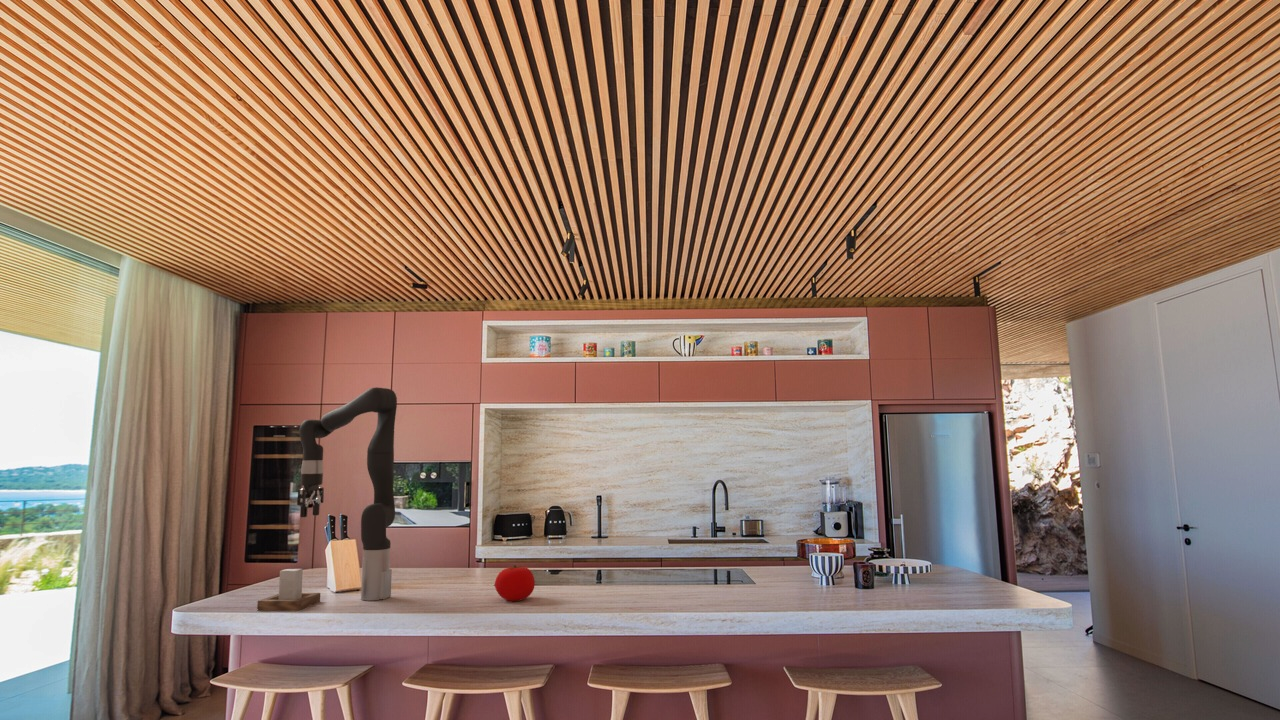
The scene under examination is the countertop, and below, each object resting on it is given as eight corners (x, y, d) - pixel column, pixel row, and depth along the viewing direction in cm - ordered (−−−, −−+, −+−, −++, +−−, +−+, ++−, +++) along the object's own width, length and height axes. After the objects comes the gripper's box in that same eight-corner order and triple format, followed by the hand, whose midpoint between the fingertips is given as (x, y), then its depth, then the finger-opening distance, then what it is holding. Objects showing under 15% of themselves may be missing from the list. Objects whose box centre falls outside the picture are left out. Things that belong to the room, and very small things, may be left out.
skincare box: (301, 604, 241) (303, 568, 242) (294, 607, 237) (296, 570, 238) (284, 604, 241) (286, 568, 243) (277, 607, 237) (279, 570, 239)
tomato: (529, 603, 238) (529, 568, 240) (490, 603, 240) (490, 568, 241) (539, 596, 251) (539, 562, 252) (501, 595, 253) (502, 562, 254)
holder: (320, 601, 245) (320, 592, 246) (297, 610, 231) (298, 601, 232) (281, 601, 246) (282, 592, 247) (257, 610, 232) (257, 600, 233)
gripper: (311, 473, 259) (309, 517, 256) (331, 472, 273) (329, 514, 271) (292, 473, 259) (289, 518, 257) (312, 472, 273) (310, 514, 271)
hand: (309, 516), depth 264 cm, fingers open, 8 cm apart
